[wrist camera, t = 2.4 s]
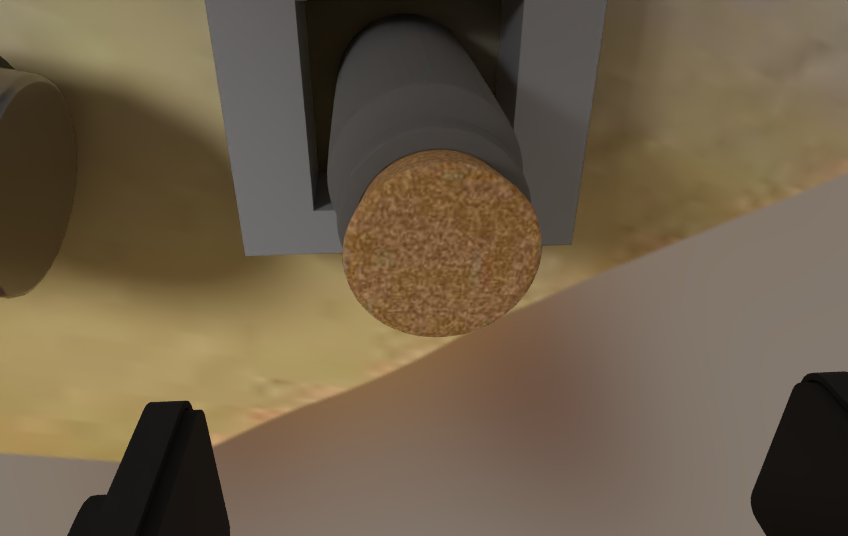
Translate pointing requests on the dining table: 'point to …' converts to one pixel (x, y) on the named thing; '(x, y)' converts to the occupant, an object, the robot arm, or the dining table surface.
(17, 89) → the muzzle brake
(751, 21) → the dining table surface
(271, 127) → the grey cinder block
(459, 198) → the bottle
